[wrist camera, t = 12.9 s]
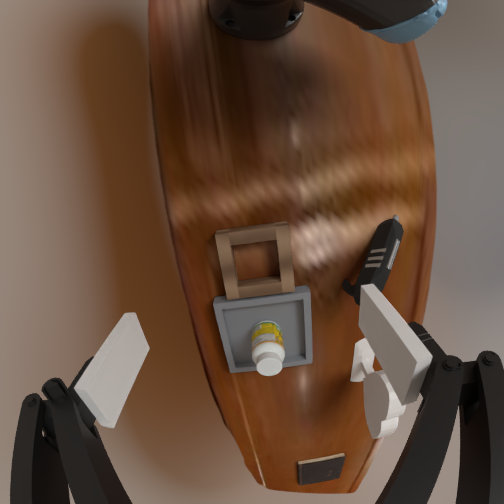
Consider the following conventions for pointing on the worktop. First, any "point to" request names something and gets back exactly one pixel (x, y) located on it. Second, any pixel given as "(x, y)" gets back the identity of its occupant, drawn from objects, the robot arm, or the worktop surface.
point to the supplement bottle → (267, 347)
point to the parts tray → (261, 309)
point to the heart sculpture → (376, 393)
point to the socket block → (252, 235)
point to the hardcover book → (320, 469)
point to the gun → (378, 258)
